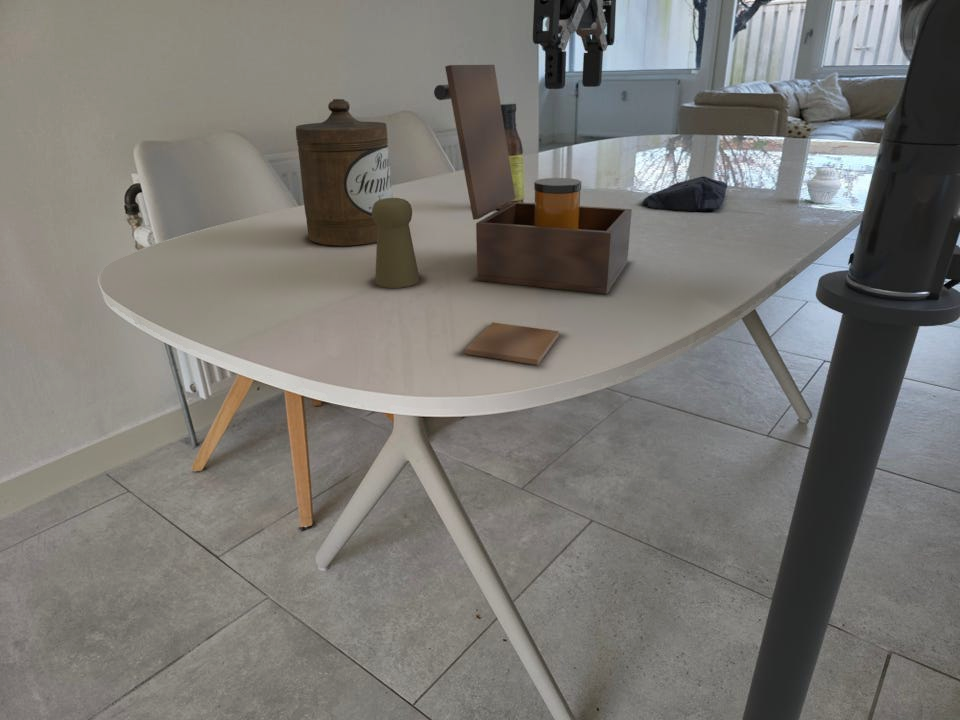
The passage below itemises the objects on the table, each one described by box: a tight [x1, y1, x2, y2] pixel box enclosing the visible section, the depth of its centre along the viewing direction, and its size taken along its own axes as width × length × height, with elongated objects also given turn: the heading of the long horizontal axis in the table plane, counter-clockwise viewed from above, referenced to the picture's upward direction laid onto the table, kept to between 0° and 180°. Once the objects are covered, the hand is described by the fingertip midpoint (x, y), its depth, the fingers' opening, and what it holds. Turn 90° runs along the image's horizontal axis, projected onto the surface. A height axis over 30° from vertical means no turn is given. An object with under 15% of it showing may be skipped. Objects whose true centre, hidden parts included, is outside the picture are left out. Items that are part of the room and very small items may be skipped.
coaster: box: [465, 321, 560, 366], centre depth 64 cm, size 8×8×1 cm
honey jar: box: [533, 177, 582, 229], centre depth 84 cm, size 6×6×12 cm
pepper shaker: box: [372, 197, 420, 289], centre depth 82 cm, size 6×6×11 cm
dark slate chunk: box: [642, 175, 728, 212], centre depth 129 cm, size 15×22×5 cm
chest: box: [475, 202, 633, 295], centre depth 85 cm, size 18×15×8 cm
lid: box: [433, 64, 515, 221], centre depth 84 cm, size 18×15×5 cm
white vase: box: [806, 166, 842, 205], centre depth 125 cm, size 6×6×7 cm
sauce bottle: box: [496, 102, 525, 210], centre depth 123 cm, size 6×6×20 cm
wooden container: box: [295, 98, 394, 247], centre depth 103 cm, size 15×15×22 cm
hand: (574, 87), depth 72 cm, fingers open, 8 cm apart
